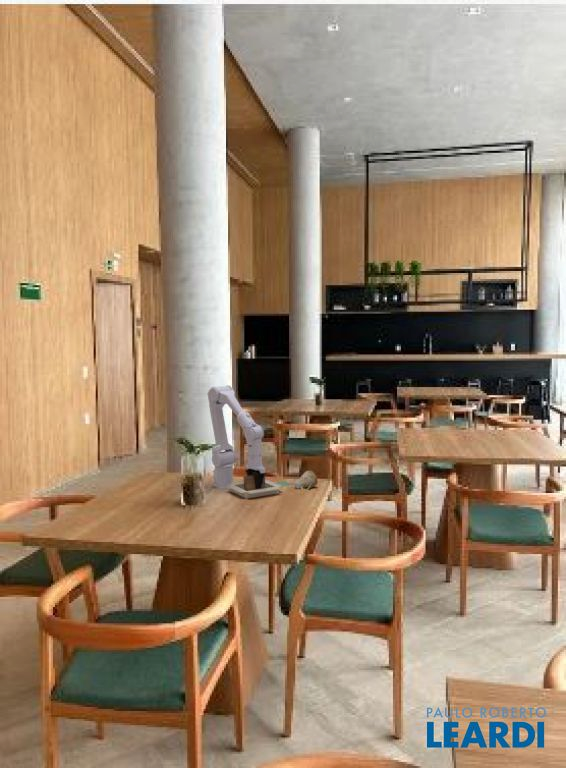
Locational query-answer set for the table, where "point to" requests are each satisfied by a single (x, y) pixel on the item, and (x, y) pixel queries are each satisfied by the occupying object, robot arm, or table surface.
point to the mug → (306, 481)
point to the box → (251, 483)
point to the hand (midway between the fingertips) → (256, 487)
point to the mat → (284, 483)
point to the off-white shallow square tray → (239, 489)
